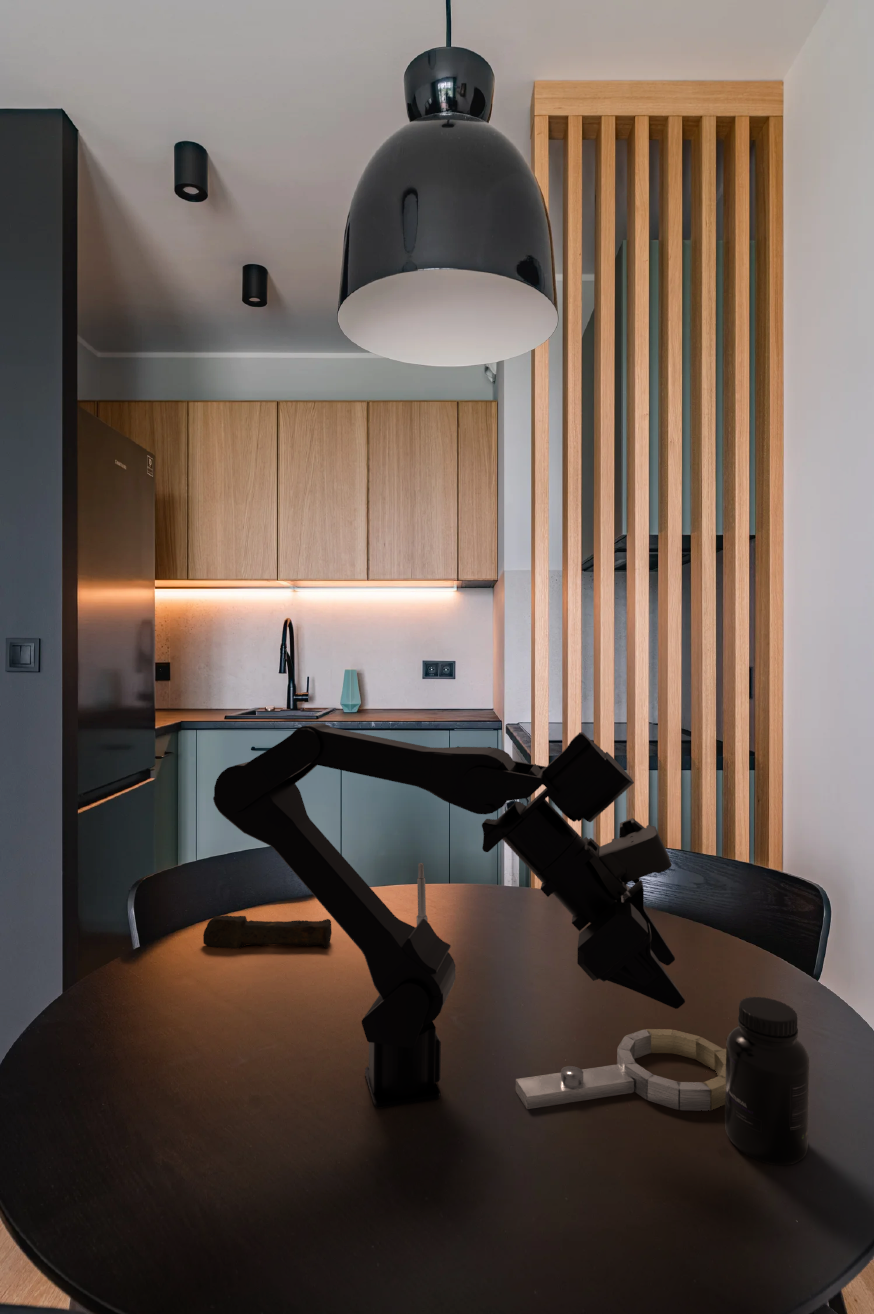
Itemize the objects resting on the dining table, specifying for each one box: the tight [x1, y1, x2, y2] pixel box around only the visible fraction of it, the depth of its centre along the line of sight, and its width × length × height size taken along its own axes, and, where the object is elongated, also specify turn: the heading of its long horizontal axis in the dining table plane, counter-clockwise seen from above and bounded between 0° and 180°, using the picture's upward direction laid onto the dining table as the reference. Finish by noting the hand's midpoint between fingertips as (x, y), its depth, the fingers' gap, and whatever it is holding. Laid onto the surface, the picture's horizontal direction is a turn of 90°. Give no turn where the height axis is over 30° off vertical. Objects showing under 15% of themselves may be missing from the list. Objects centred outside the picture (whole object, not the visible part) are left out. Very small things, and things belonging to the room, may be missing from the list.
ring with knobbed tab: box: [645, 1028, 726, 1111], centre depth 76 cm, size 13×12×2 cm
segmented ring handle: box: [515, 1029, 711, 1112], centre depth 73 cm, size 17×12×2 cm
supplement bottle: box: [724, 996, 810, 1166], centre depth 65 cm, size 7×7×12 cm
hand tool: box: [202, 915, 333, 950], centre depth 109 cm, size 19×4×5 cm, turn 90°
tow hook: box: [416, 862, 440, 938], centre depth 109 cm, size 8×13×9 cm
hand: (676, 982), depth 66 cm, fingers open, 9 cm apart
